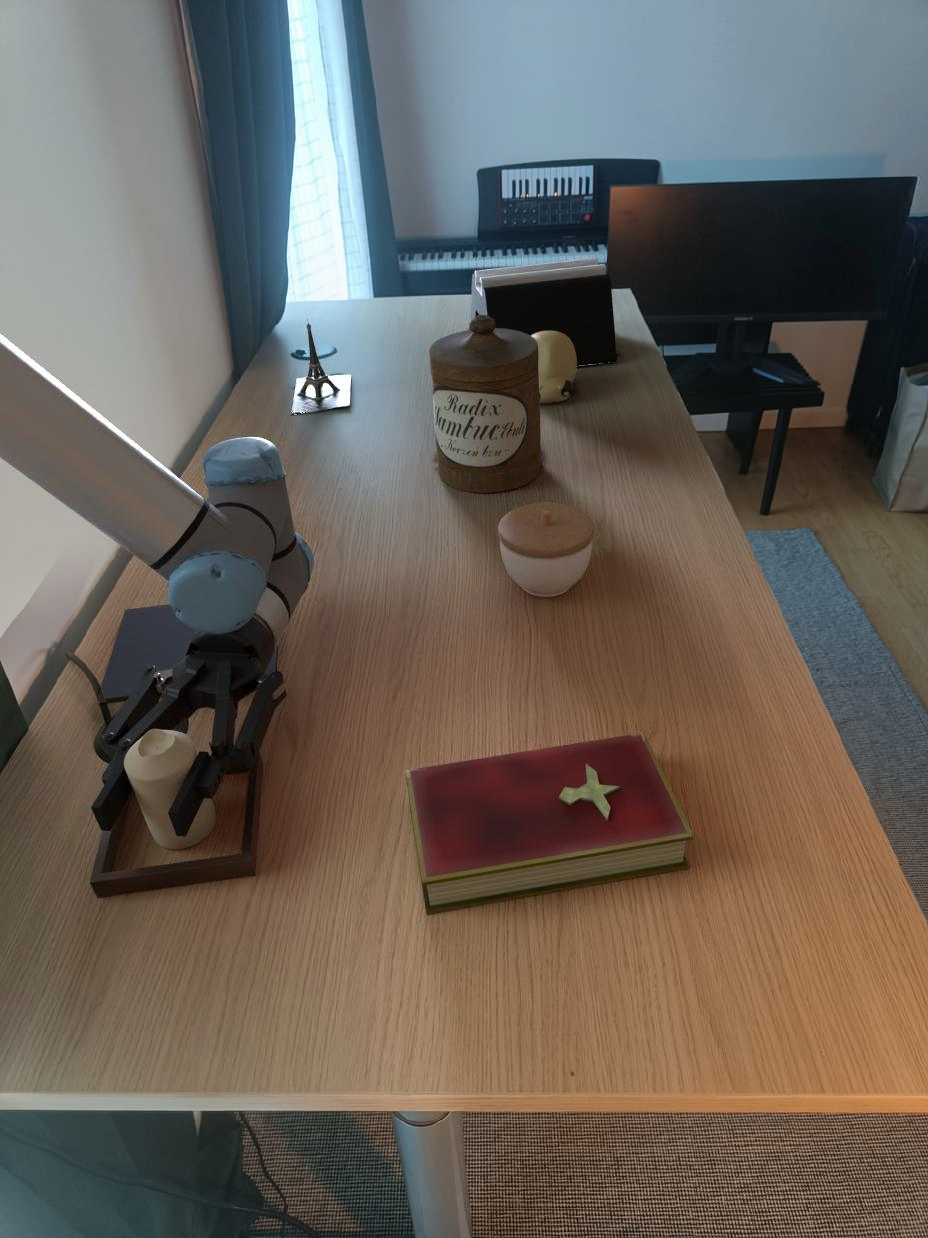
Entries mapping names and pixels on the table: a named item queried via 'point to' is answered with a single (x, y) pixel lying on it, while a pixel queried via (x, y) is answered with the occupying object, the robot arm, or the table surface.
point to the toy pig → (555, 366)
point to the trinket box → (546, 546)
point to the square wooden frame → (187, 871)
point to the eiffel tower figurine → (320, 386)
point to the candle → (166, 785)
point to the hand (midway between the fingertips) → (138, 821)
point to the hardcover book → (544, 822)
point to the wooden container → (486, 407)
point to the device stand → (552, 303)
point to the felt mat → (148, 649)
